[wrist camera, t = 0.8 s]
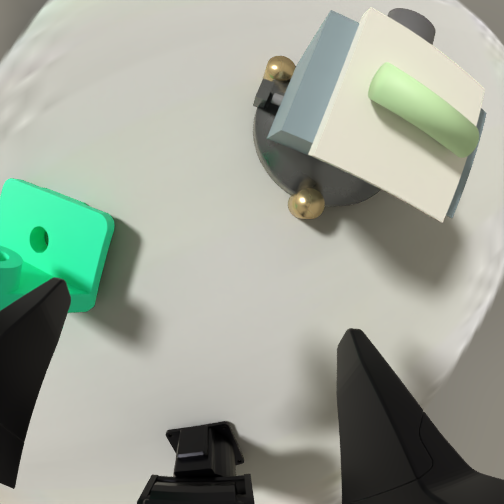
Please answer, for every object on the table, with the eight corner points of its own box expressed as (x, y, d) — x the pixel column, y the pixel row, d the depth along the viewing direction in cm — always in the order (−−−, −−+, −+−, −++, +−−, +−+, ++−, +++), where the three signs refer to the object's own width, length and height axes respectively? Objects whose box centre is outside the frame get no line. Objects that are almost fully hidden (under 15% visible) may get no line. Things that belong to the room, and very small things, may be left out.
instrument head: (378, 195, 21) (488, 251, 9) (254, 141, 20) (261, 131, 8) (417, 88, 18) (534, 65, 6) (302, 28, 17) (353, -72, 5)
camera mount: (122, 217, 22) (56, 219, 12) (99, 302, 23) (36, 350, 12) (22, 178, 20) (-54, 167, 10) (5, 254, 21) (-67, 271, 11)
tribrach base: (365, 245, 24) (388, 250, 20) (217, 188, 22) (216, 182, 18) (402, 113, 23) (425, 101, 19) (274, 51, 21) (282, 28, 17)
